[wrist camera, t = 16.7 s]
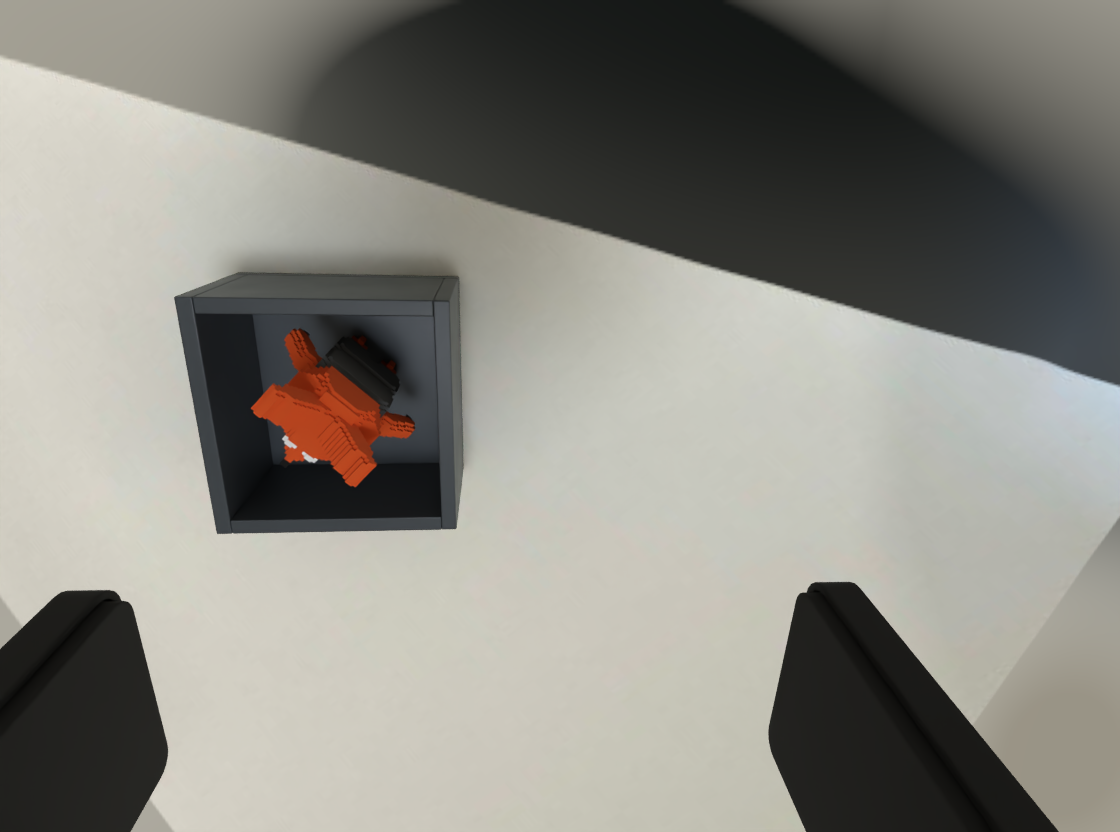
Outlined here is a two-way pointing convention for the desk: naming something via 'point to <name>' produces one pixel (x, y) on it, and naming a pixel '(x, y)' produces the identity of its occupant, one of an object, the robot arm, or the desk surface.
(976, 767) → the robot arm
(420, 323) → the bin
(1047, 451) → the desk surface
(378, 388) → the toy animal
